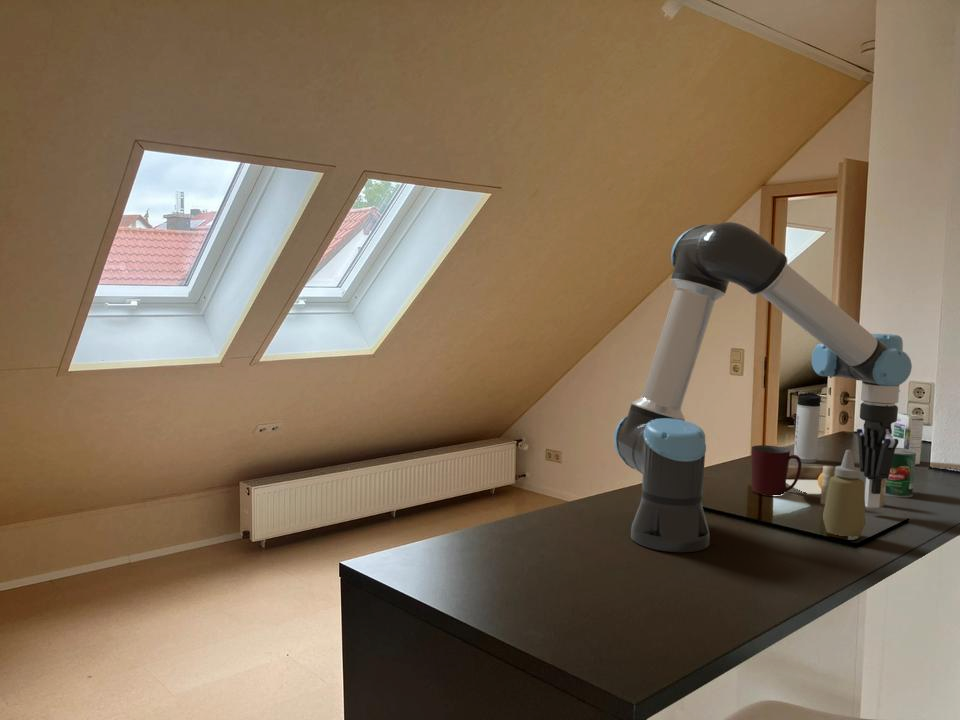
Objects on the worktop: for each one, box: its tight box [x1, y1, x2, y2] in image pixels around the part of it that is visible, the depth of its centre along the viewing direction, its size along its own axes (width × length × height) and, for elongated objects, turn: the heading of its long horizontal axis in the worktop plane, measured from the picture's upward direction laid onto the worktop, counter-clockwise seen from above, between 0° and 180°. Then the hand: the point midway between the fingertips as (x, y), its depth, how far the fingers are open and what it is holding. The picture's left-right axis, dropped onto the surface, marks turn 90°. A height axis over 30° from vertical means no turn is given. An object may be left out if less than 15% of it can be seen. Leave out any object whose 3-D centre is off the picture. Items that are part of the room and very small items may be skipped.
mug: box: [750, 444, 802, 495], centre depth 195 cm, size 12×9×11 cm
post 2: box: [879, 479, 886, 508], centre depth 188 cm, size 3×3×9 cm
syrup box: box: [892, 412, 925, 465], centre depth 235 cm, size 6×6×14 cm
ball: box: [817, 473, 836, 489], centre depth 198 cm, size 6×6×6 cm
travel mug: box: [793, 392, 822, 464], centre depth 234 cm, size 6×7×20 cm
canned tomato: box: [885, 448, 916, 498], centre depth 199 cm, size 8×8×11 cm
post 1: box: [820, 465, 836, 503], centre depth 187 cm, size 3×3×9 cm
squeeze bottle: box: [822, 449, 866, 537], centre depth 162 cm, size 8×8×18 cm
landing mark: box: [786, 479, 821, 495], centre depth 204 cm, size 14×14×1 cm
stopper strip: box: [786, 465, 824, 480], centre depth 213 cm, size 16×2×3 cm, turn 93°
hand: (871, 506), depth 180 cm, fingers closed
